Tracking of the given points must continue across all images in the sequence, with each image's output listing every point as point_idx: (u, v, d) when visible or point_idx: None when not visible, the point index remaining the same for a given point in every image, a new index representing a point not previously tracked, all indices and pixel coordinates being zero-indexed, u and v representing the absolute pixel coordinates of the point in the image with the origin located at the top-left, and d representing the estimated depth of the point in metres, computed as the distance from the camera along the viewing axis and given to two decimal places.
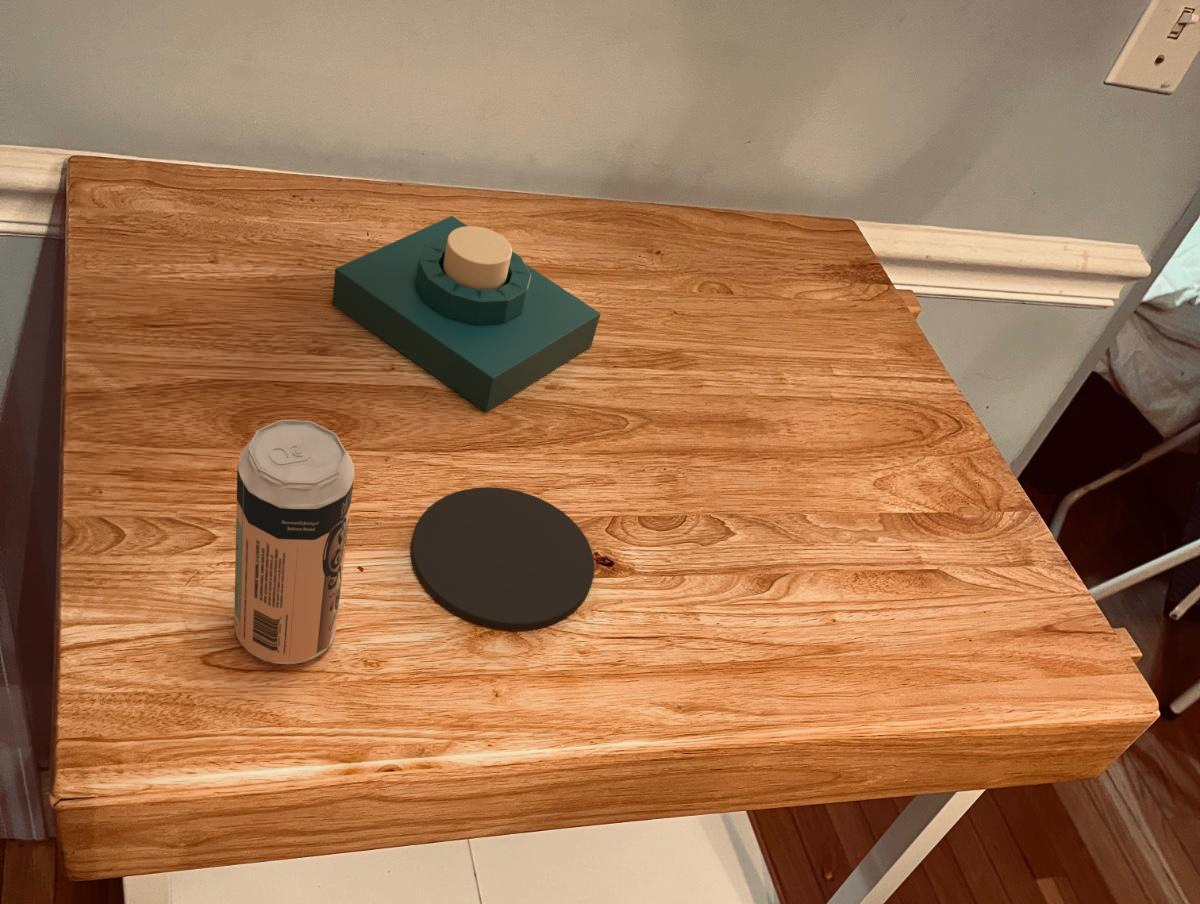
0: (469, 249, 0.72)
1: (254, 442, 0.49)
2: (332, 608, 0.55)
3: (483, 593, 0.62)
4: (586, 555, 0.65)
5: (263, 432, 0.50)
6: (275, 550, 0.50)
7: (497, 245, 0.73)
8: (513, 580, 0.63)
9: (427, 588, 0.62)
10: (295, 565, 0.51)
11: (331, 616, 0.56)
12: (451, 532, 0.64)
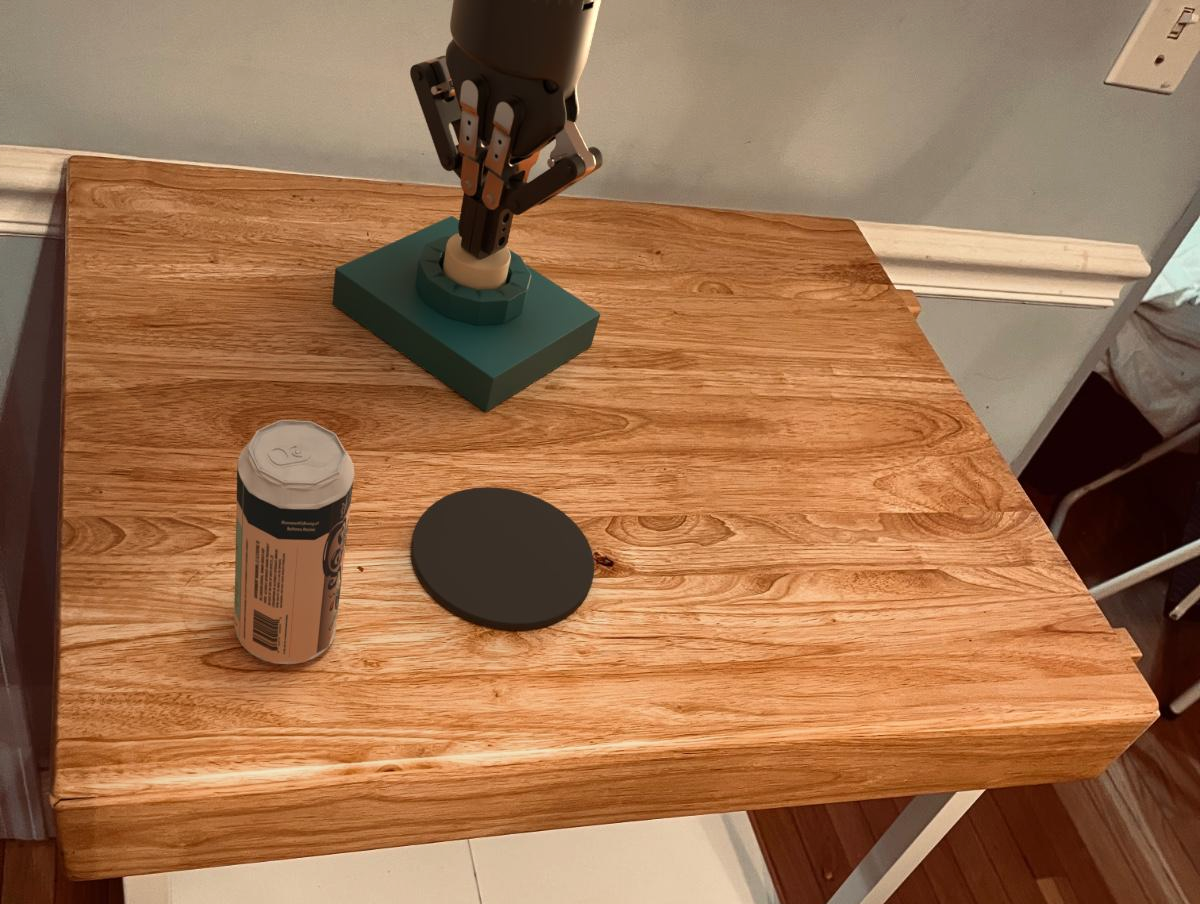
0: (468, 255, 0.73)
1: (254, 442, 0.49)
2: (332, 608, 0.55)
3: (483, 593, 0.62)
4: (586, 555, 0.65)
5: (263, 432, 0.50)
6: (275, 550, 0.50)
7: None
8: (513, 580, 0.63)
9: (427, 588, 0.62)
10: (295, 565, 0.51)
11: (331, 616, 0.56)
12: (451, 532, 0.64)
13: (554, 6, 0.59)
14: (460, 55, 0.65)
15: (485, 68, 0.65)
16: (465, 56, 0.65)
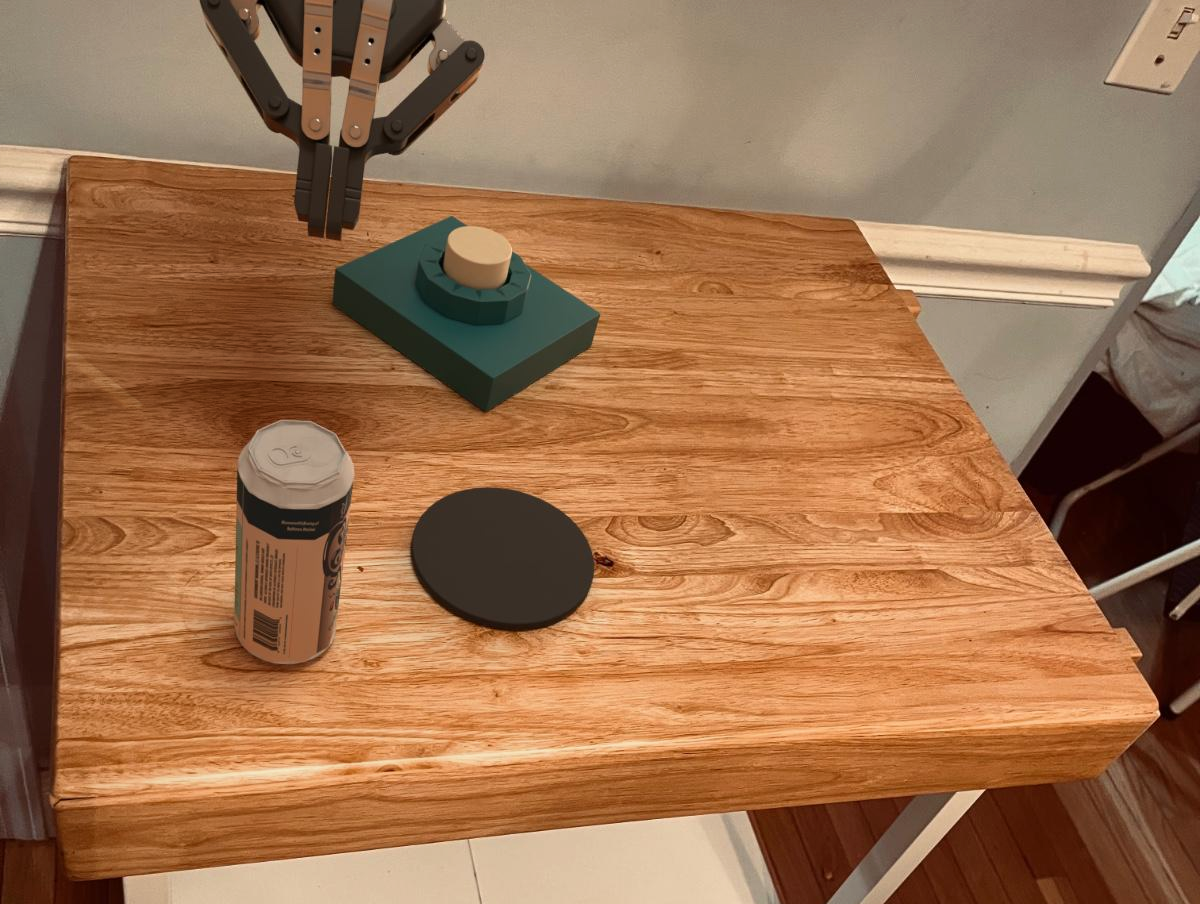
0: (469, 249, 0.72)
1: (254, 442, 0.49)
2: (332, 608, 0.55)
3: (483, 593, 0.62)
4: (586, 555, 0.65)
5: (263, 432, 0.50)
6: (275, 550, 0.50)
7: (497, 245, 0.73)
8: (513, 580, 0.63)
9: (427, 588, 0.62)
10: (295, 565, 0.51)
11: (331, 616, 0.56)
12: (451, 532, 0.64)
13: None
14: None
15: None
16: None
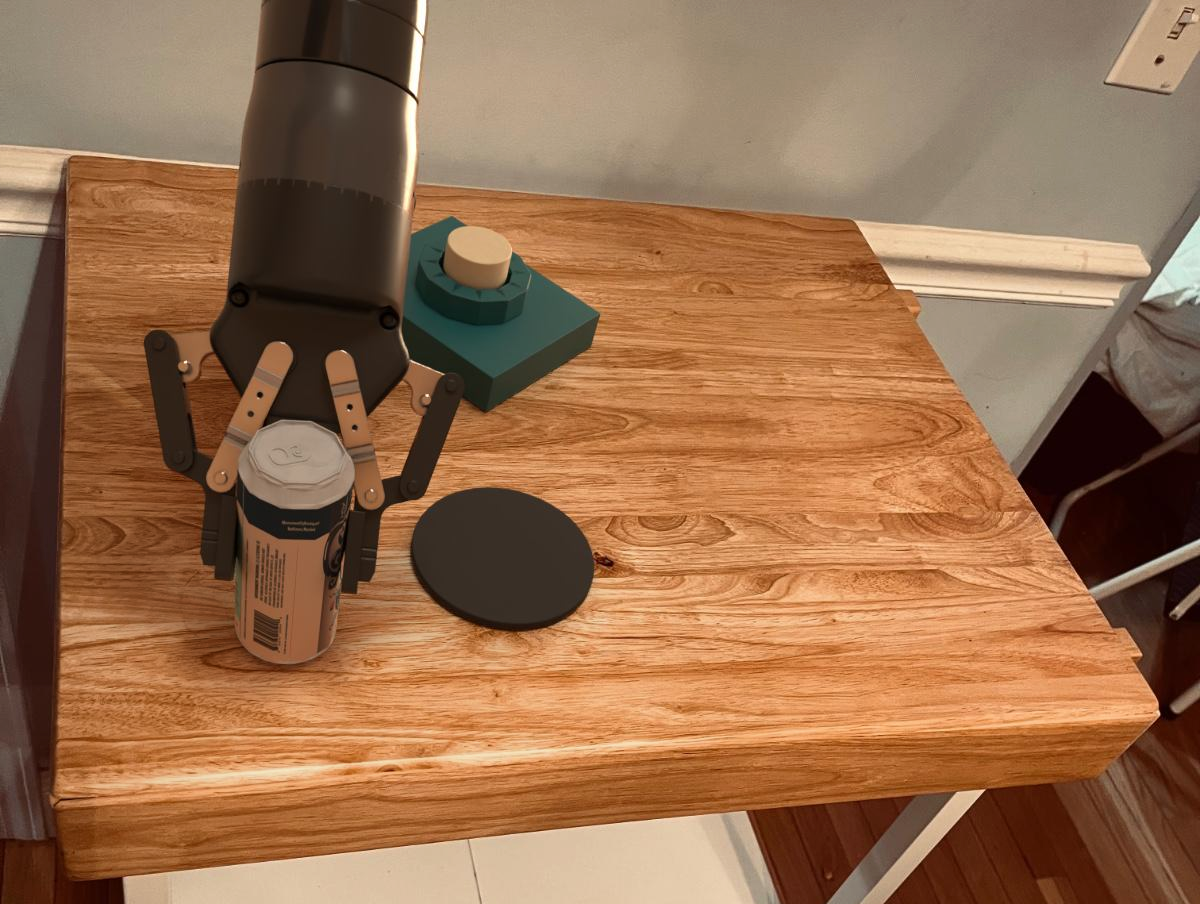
0: (469, 249, 0.72)
1: (254, 442, 0.49)
2: (332, 608, 0.55)
3: (483, 593, 0.62)
4: (586, 555, 0.65)
5: (263, 432, 0.50)
6: (275, 550, 0.50)
7: (497, 245, 0.73)
8: (513, 580, 0.63)
9: (427, 588, 0.62)
10: (295, 565, 0.51)
11: (331, 616, 0.56)
12: (451, 532, 0.64)
13: (400, 215, 0.50)
14: (242, 326, 0.50)
15: (286, 330, 0.51)
16: (254, 331, 0.51)
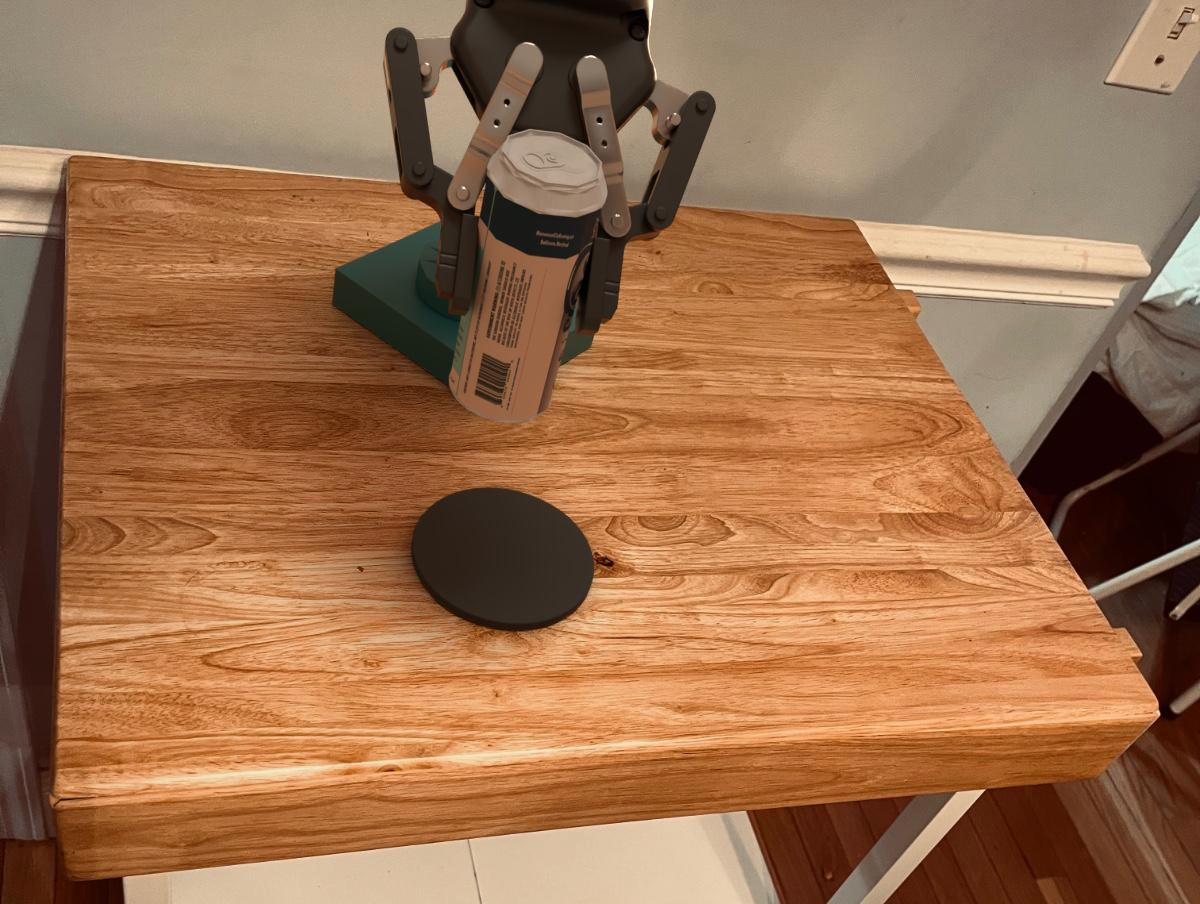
0: None
1: (506, 147, 0.46)
2: (560, 359, 0.52)
3: (483, 593, 0.62)
4: (586, 555, 0.65)
5: (513, 139, 0.46)
6: (522, 271, 0.47)
7: None
8: (513, 580, 0.63)
9: (427, 588, 0.62)
10: (539, 292, 0.48)
11: (557, 369, 0.52)
12: (451, 532, 0.64)
13: None
14: (487, 28, 0.47)
15: (532, 35, 0.47)
16: (499, 35, 0.47)
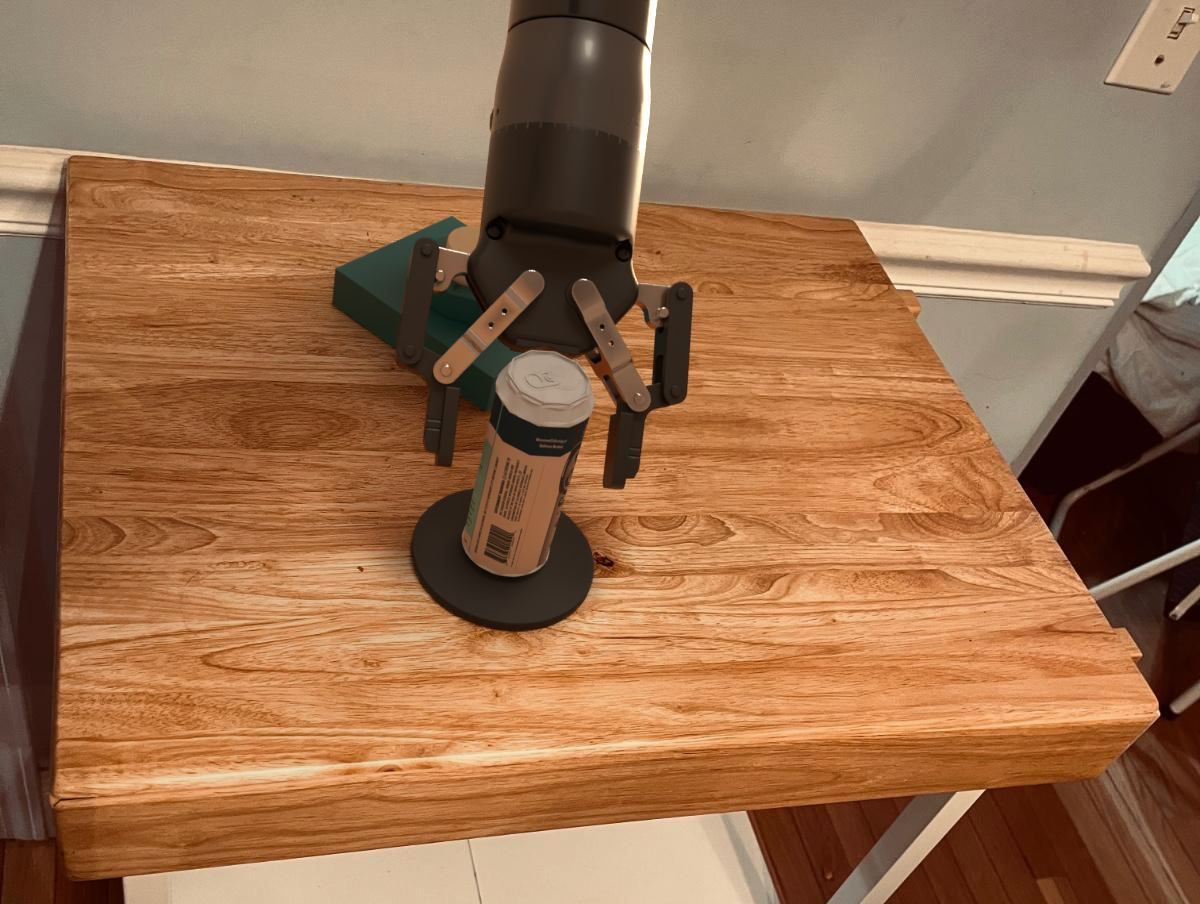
0: (469, 249, 0.72)
1: (511, 369, 0.55)
2: (556, 525, 0.61)
3: (483, 593, 0.62)
4: (586, 555, 0.65)
5: (517, 360, 0.56)
6: (524, 466, 0.57)
7: None
8: (513, 580, 0.63)
9: (427, 588, 0.62)
10: (538, 481, 0.57)
11: (553, 533, 0.62)
12: (451, 532, 0.64)
13: (639, 157, 0.56)
14: (498, 256, 0.56)
15: (535, 261, 0.56)
16: (508, 267, 0.56)
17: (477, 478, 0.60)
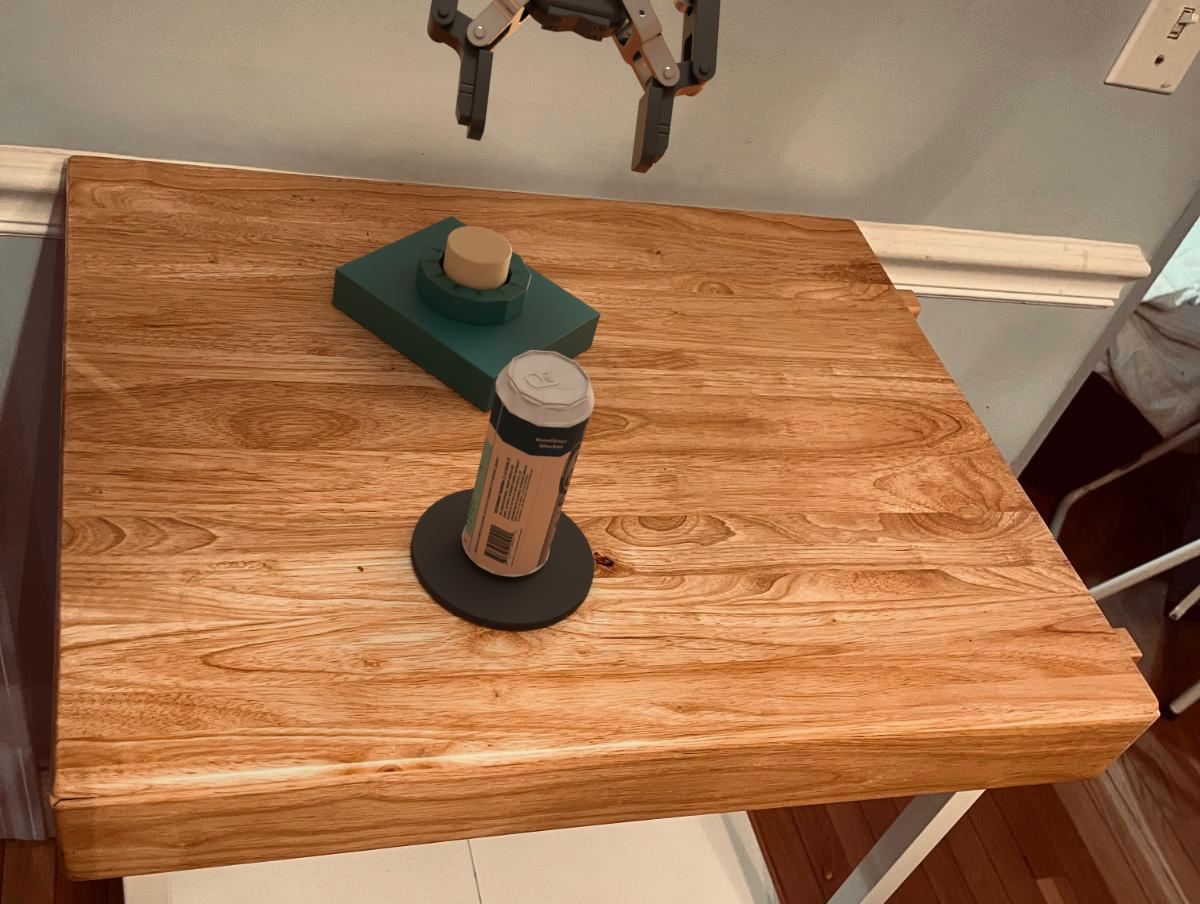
0: (469, 249, 0.72)
1: (511, 369, 0.55)
2: (556, 525, 0.61)
3: (483, 593, 0.62)
4: (586, 555, 0.65)
5: (517, 360, 0.56)
6: (524, 466, 0.57)
7: (497, 245, 0.73)
8: (513, 580, 0.63)
9: (427, 588, 0.62)
10: (538, 481, 0.57)
11: (553, 533, 0.62)
12: (451, 532, 0.64)
13: None
14: None
15: None
16: None
17: (477, 478, 0.60)
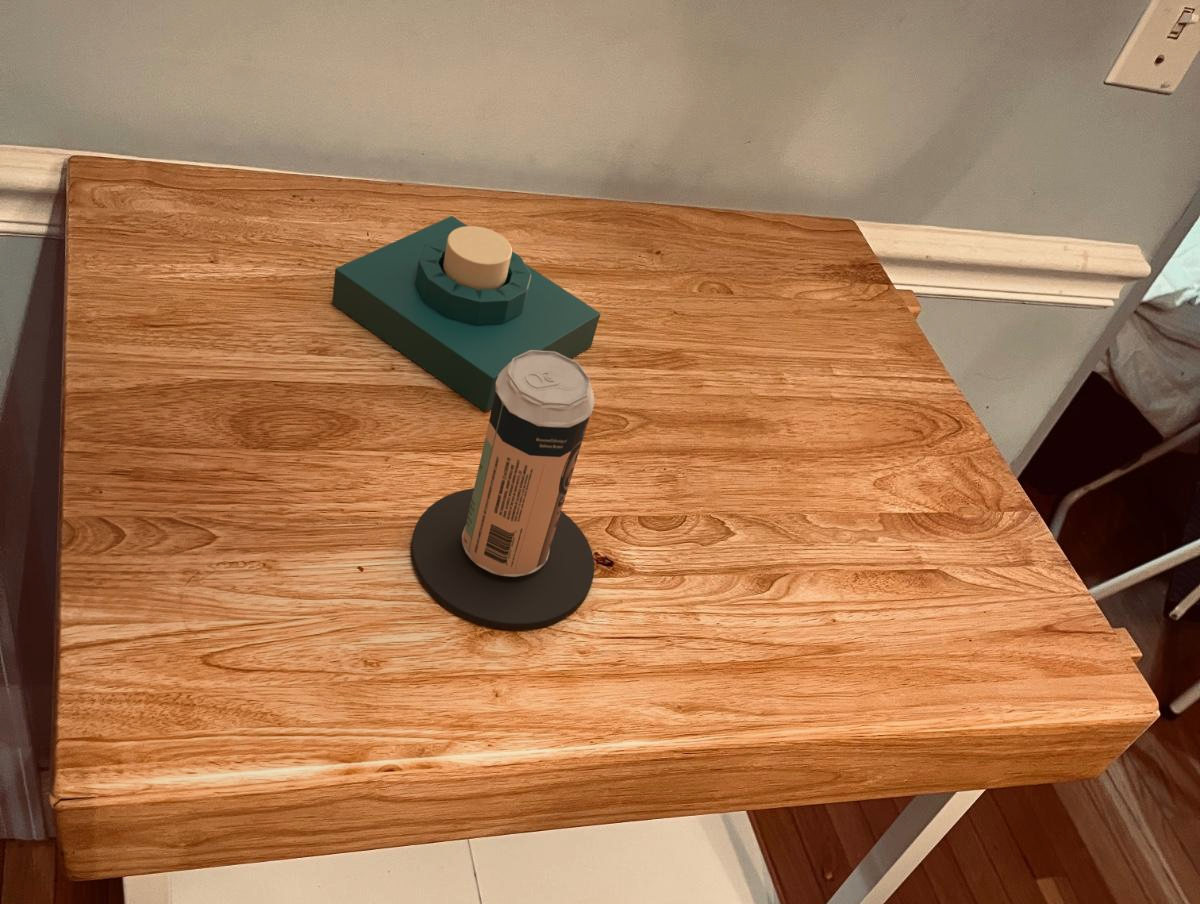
0: (469, 249, 0.72)
1: (511, 369, 0.55)
2: (556, 525, 0.61)
3: (483, 593, 0.62)
4: (586, 555, 0.65)
5: (517, 360, 0.56)
6: (524, 466, 0.57)
7: (497, 245, 0.73)
8: (513, 580, 0.63)
9: (427, 588, 0.62)
10: (538, 481, 0.57)
11: (553, 533, 0.62)
12: (451, 532, 0.64)
13: None
14: None
15: None
16: None
17: (477, 478, 0.60)
